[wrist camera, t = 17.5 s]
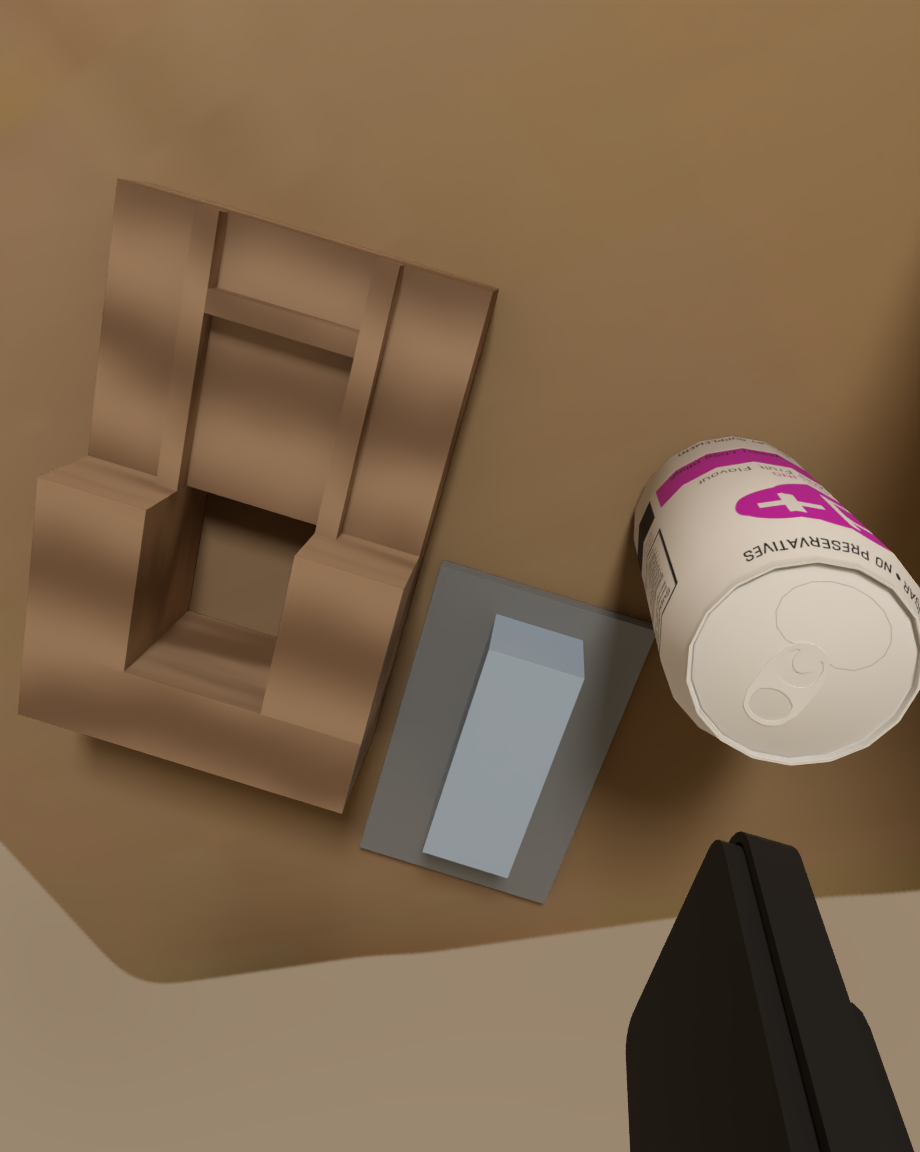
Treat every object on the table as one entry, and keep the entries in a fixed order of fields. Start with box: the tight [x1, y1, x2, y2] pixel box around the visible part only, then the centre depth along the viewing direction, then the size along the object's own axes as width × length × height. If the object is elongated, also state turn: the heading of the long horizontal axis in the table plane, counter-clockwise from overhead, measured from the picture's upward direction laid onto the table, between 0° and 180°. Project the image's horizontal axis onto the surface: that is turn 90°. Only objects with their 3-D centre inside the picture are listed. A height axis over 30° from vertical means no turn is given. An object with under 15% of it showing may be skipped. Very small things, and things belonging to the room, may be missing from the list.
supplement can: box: [634, 436, 920, 766], centre depth 33 cm, size 8×8×15 cm
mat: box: [360, 560, 655, 904], centre depth 45 cm, size 11×18×1 cm, turn 164°
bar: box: [422, 614, 584, 878], centre depth 42 cm, size 12×4×4 cm, turn 164°
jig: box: [18, 179, 498, 814], centre depth 38 cm, size 24×16×7 cm, turn 164°
